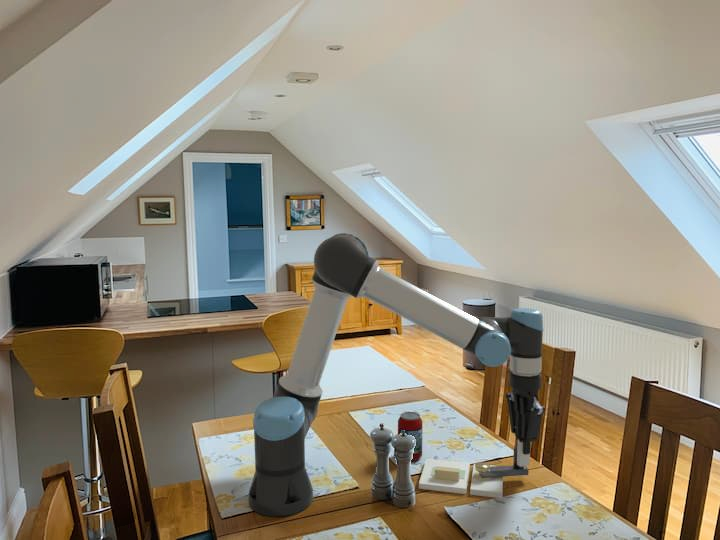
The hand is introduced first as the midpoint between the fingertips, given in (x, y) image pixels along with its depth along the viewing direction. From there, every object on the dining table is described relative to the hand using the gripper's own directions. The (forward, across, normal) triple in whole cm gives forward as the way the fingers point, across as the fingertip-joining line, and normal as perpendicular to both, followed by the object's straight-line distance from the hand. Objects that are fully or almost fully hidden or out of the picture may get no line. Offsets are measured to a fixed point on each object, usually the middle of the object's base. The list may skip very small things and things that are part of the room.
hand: (523, 464), depth 143 cm
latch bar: (+3, +3, +4) cm, 6 cm away
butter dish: (+5, +10, +16) cm, 20 cm away
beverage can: (+5, +24, +20) cm, 31 cm away
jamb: (+5, +4, +8) cm, 10 cm away
